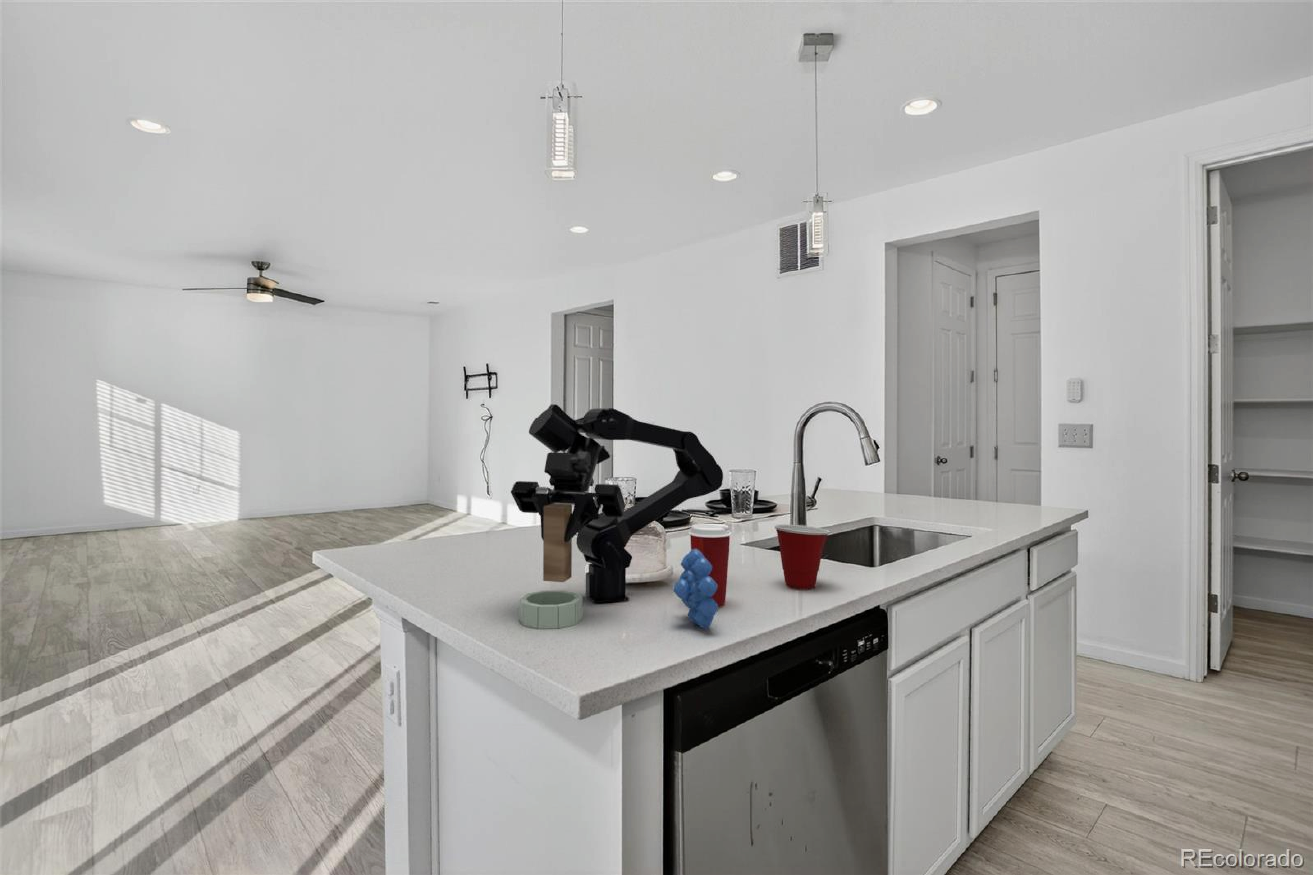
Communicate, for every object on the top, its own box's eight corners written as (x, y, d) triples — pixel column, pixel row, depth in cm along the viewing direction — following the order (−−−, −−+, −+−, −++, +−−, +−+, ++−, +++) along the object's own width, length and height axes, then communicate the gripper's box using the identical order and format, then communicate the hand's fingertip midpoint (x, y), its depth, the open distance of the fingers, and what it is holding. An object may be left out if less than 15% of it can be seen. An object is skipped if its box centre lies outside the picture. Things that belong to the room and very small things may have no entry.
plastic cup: (840, 590, 128) (841, 528, 127) (794, 595, 124) (794, 532, 123) (807, 577, 138) (808, 520, 137) (763, 582, 134) (763, 523, 133)
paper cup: (736, 601, 119) (737, 524, 119) (722, 612, 112) (723, 531, 112) (696, 596, 123) (697, 521, 122) (680, 606, 116) (681, 527, 115)
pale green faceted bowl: (572, 607, 114) (572, 588, 114) (588, 625, 105) (588, 603, 105) (515, 613, 111) (515, 593, 110) (527, 632, 101) (527, 609, 101)
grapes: (660, 616, 110) (661, 545, 109) (698, 613, 112) (698, 543, 111) (685, 638, 99) (686, 559, 98) (726, 634, 101) (727, 556, 100)
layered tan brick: (551, 575, 109) (552, 503, 108) (571, 577, 108) (571, 504, 107) (543, 580, 105) (543, 506, 105) (563, 582, 104) (564, 507, 104)
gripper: (515, 434, 112) (484, 506, 101) (620, 435, 108) (598, 511, 97) (534, 476, 120) (506, 547, 109) (633, 479, 115) (613, 554, 105)
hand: (554, 539), depth 105 cm, fingers closed on layered tan brick, 3 cm apart
